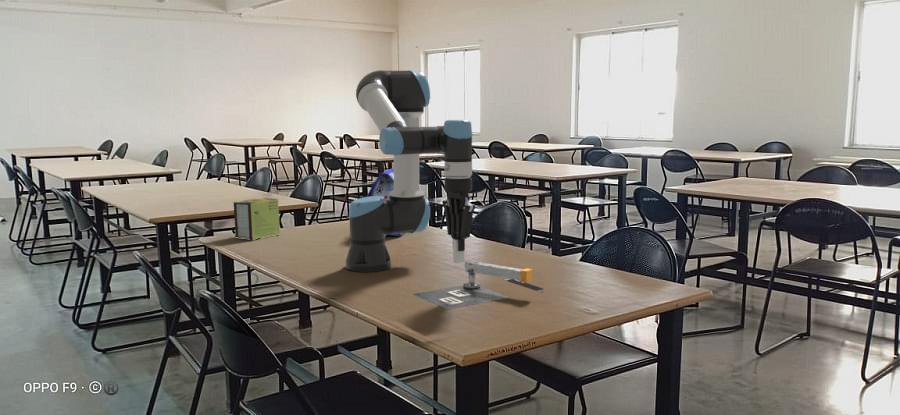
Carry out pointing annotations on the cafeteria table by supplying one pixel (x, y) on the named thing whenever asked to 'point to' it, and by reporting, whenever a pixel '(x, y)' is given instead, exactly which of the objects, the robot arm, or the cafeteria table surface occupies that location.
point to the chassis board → (470, 287)
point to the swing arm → (500, 271)
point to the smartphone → (525, 285)
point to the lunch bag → (383, 187)
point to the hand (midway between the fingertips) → (458, 261)
